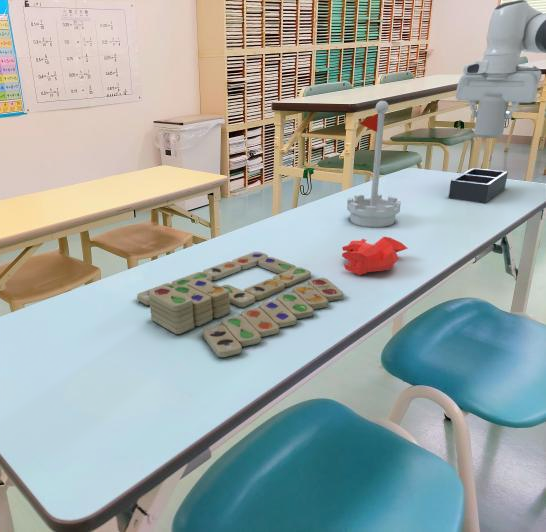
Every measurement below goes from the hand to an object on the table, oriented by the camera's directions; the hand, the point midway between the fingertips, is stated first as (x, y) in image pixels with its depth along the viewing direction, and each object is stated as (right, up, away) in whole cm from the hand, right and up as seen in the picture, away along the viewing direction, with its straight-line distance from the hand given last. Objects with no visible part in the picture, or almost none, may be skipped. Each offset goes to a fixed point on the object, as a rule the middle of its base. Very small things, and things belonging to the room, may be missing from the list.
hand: (490, 118), depth 149 cm
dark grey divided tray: (0, -21, +7) cm, 22 cm away
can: (0, -5, +2) cm, 5 cm away
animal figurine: (-47, -42, -40) cm, 75 cm away
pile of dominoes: (-75, -49, -52) cm, 104 cm away
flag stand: (-38, -31, -13) cm, 51 cm away
